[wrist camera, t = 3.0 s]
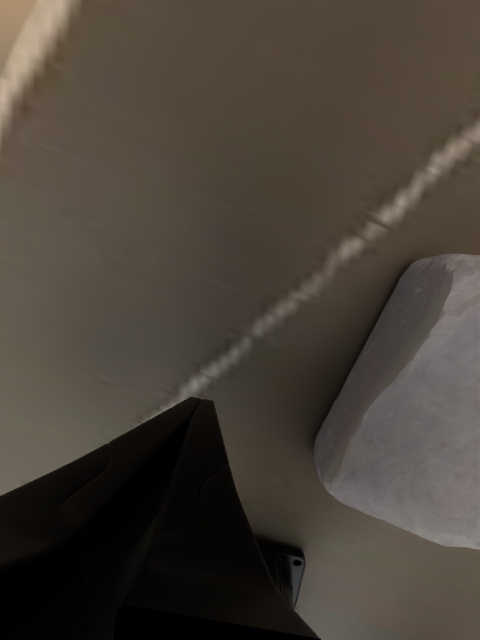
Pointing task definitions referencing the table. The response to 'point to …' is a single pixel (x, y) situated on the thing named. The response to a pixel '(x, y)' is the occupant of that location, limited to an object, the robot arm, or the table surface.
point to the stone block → (414, 409)
